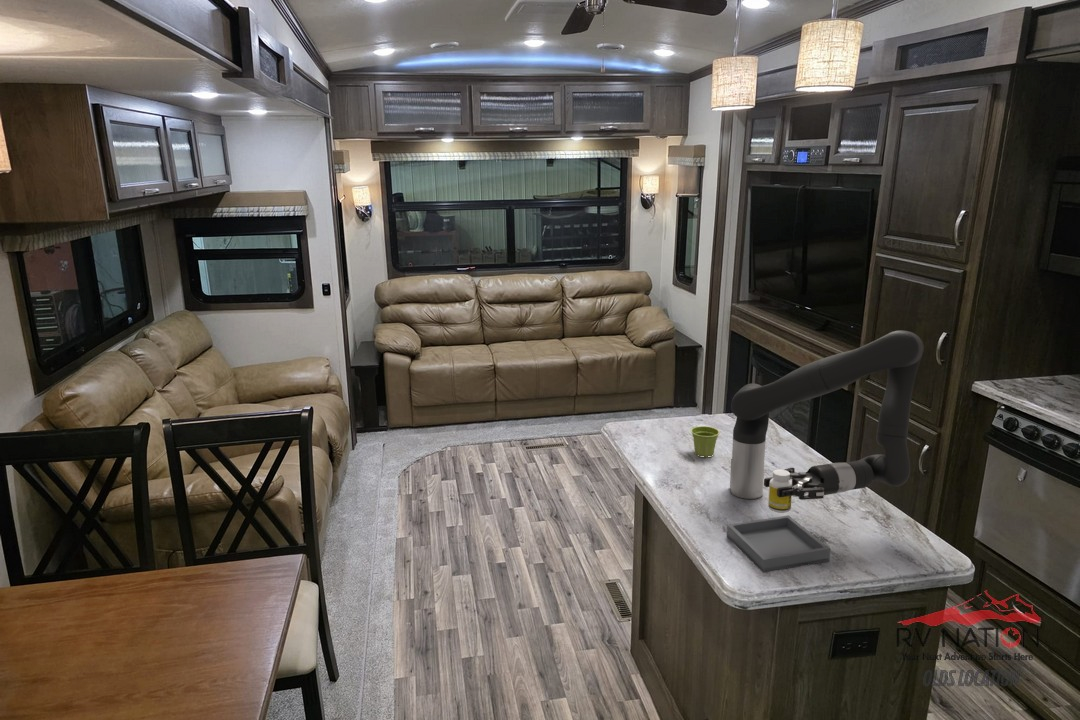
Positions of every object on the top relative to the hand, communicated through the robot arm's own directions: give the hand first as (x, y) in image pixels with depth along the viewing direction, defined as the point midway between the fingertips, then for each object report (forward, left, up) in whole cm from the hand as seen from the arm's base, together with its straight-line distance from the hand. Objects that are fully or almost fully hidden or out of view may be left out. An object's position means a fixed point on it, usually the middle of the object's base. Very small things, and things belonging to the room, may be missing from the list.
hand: (771, 487), depth 173 cm
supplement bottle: (0, +3, -6) cm, 7 cm away
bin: (0, +2, -17) cm, 17 cm away
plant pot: (-61, +12, -17) cm, 65 cm away
